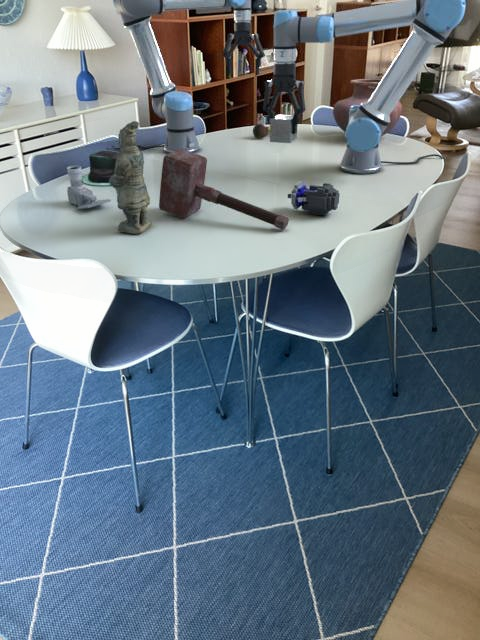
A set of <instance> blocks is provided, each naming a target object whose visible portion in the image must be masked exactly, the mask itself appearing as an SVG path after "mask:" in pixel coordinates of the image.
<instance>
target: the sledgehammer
mask: <svg viewBox="0 0 480 640" xmlns="http://www.w3.org/2000/svg"><path fill="white" fill-rule="evenodd" d="M207 164H208V159H207V158H206V157H205V156H203V155H200V154H197V153H196V152H194V153H192V152H190V151H187V150H184V149H179V150H177V151H174V152H172V153H166V154H165V155H164V156H163V158H162V167H161V176H160V187H159V199H158V208H159V210H160V211H162V212H165V213H168V214H170V215H173V216H174V217H177V218H180V219H182V220H185V219H187V218H188V217H190V216H192V215H193V214H195V213H197V212H198V211H199V210H200V209H201V207H202V201H203V200H204V201H207V202H209V203H213V204H215V205H220V206H223V207H225V208H228V209H231V210H233V211H236V212H239V213H241V214H243V215H245V216H248V217H252V218H255V219H257V220H260V221H262V222H264V223H267V224H270V225H273V226H274V228H276V229H280V230H282V231H285V230H286V228H287V227H288V224H289V221H290V218H289V217H288V216H286V215H283V214H281V213H279V214H277V213H275V212H273V211H269V210H267V209H265V208H262V207H259V206H256V205H254V204H251V203H248V202H246V201H244V200H242V199H238V198H236V197H233V196H231V195H228V194H225V193H223V192H222V191H220V190H218V189H215V188H214V187H211V186H208V185H205V181H206V175H207Z"/></svg>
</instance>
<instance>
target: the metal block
mask: <svg viewBox="0 0 480 640" xmlns="http://www.w3.org/2000/svg"><path fill="white" fill-rule="evenodd" d="M269 127H270V132H269V143H278V144H279V143H281V144H291V143H293V142H294V141H295V140H297V139H298V132H297V133H295V134H293V114H280V113H279V114H275V116H274V117H272V118H271V119H270V122H269Z"/></svg>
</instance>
